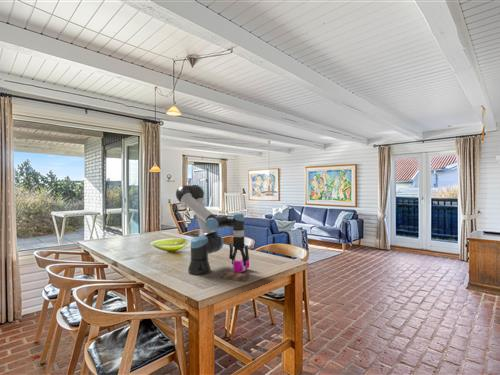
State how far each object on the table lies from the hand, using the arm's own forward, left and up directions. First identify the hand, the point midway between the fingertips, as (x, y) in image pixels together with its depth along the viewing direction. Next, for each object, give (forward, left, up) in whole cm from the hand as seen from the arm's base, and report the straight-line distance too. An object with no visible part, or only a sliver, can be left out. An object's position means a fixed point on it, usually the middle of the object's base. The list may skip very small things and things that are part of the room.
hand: (239, 269), depth 187 cm
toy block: (0, +2, -1) cm, 2 cm away
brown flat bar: (+2, -11, -2) cm, 12 cm away
